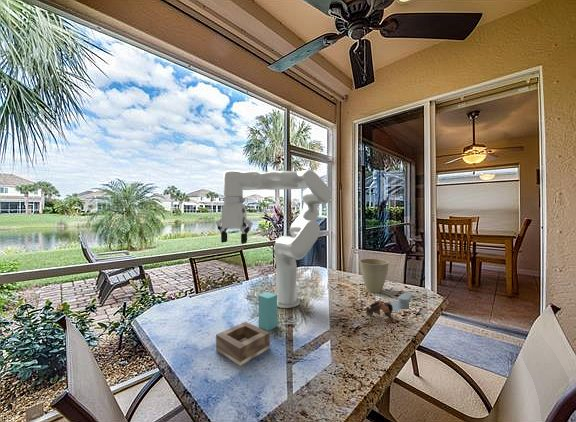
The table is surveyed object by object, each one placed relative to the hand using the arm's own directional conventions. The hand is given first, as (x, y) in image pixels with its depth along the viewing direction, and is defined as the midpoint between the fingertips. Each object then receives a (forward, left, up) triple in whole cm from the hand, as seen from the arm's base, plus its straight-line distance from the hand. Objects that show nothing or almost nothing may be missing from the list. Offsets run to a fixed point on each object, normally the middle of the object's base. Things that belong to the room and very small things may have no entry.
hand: (234, 242), depth 105 cm
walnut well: (+13, +22, -31) cm, 40 cm away
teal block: (-3, +17, -31) cm, 35 cm away
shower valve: (-55, +50, -31) cm, 81 cm away
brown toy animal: (-37, +47, -31) cm, 67 cm away
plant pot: (-69, +31, -31) cm, 82 cm away
